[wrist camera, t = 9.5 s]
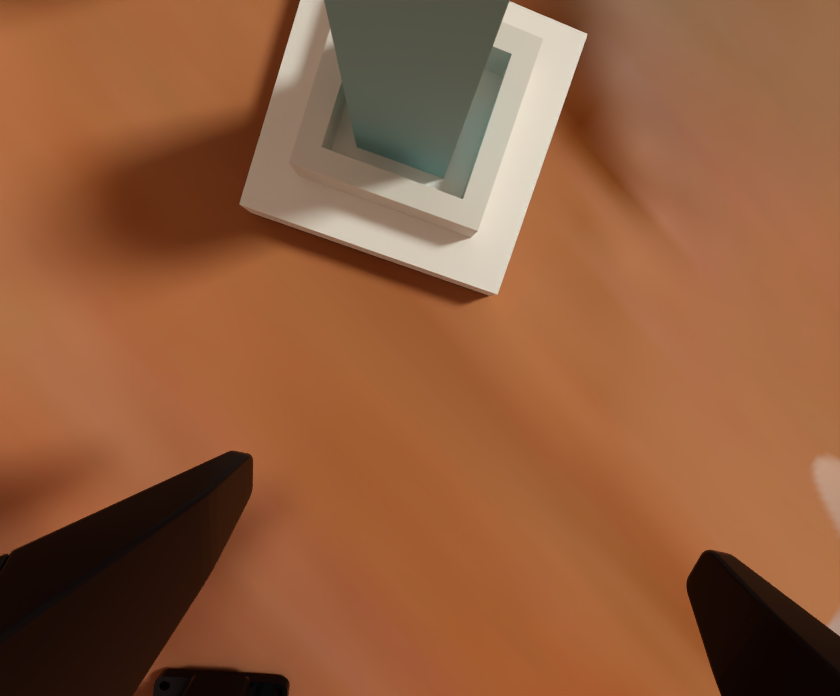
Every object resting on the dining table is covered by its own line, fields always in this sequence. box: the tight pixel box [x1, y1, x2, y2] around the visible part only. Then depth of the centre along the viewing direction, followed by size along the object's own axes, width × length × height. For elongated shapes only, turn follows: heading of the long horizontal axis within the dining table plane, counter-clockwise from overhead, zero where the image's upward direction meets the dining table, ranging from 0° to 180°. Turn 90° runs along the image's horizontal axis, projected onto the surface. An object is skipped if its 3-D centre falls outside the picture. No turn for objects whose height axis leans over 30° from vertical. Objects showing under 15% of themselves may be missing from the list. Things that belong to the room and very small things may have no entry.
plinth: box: [239, 0, 587, 296], centre depth 17 cm, size 12×12×3 cm
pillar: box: [324, 0, 510, 178], centre depth 11 cm, size 4×4×12 cm
